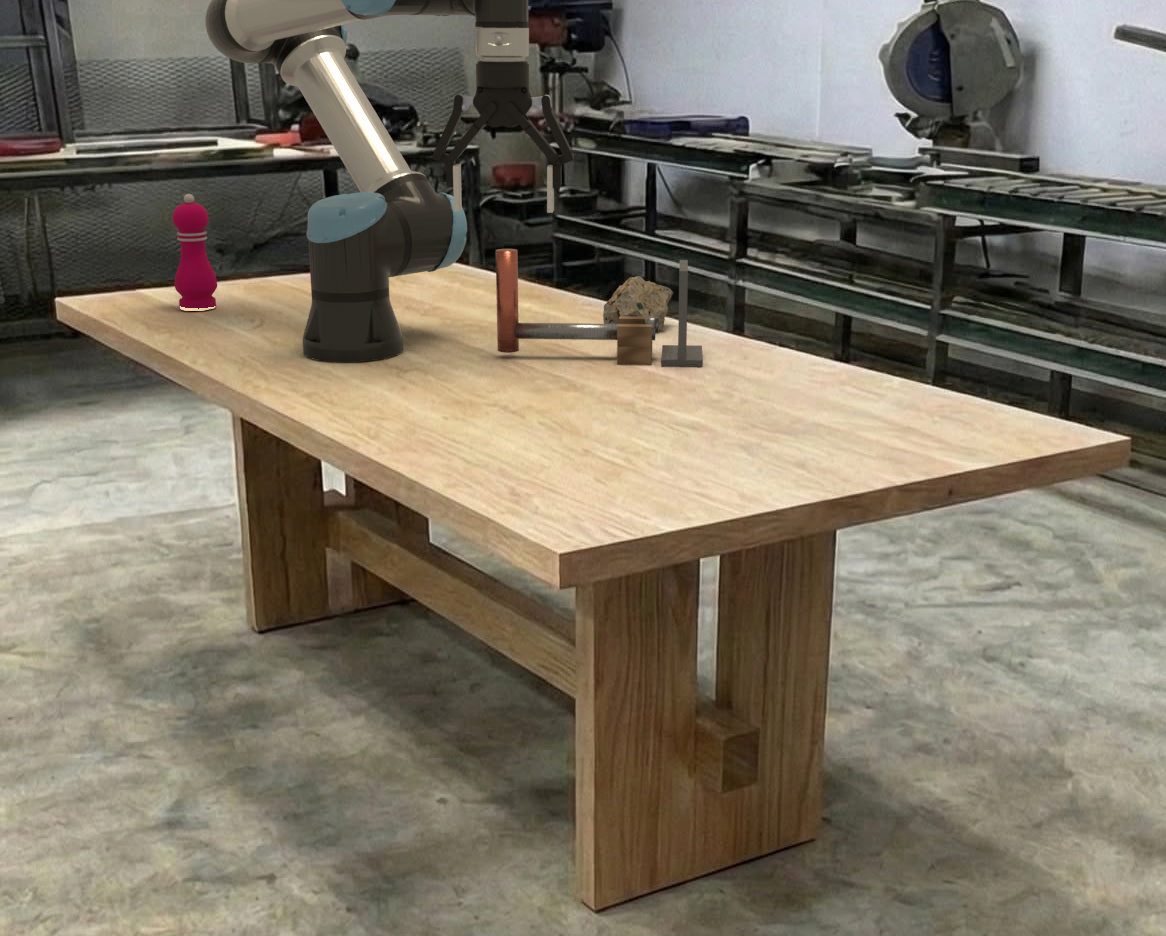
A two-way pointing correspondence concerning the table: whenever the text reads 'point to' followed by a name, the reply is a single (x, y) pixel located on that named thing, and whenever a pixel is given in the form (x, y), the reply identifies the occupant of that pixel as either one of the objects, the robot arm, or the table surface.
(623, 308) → the rock
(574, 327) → the hook
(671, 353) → the eye bracket
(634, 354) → the cradle
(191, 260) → the pepper mill
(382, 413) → the table surface
